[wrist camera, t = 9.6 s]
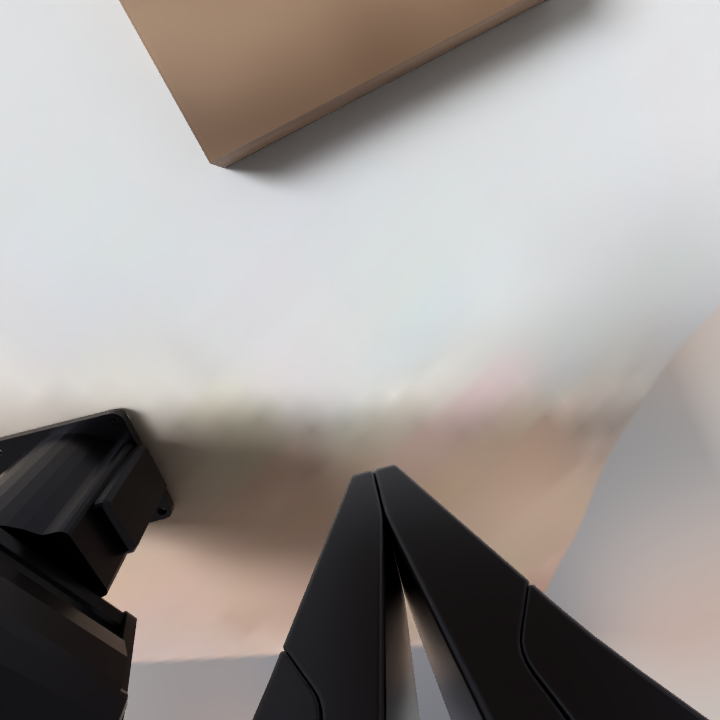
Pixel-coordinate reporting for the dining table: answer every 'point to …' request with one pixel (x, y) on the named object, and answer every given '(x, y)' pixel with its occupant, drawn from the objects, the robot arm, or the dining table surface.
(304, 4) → the stool seat
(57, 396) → the dining table surface
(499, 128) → the dining table surface
